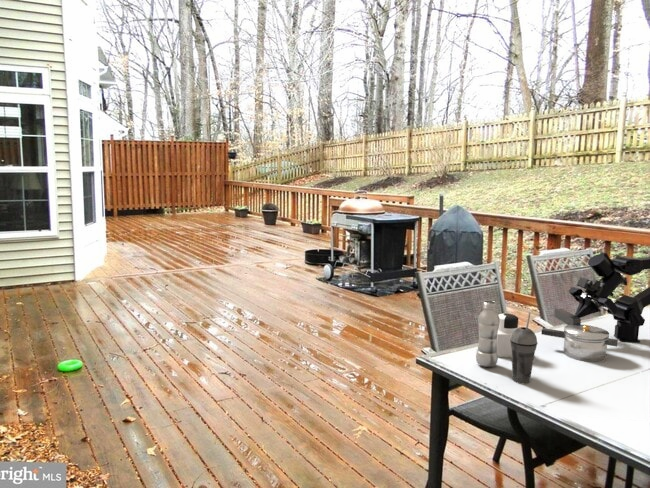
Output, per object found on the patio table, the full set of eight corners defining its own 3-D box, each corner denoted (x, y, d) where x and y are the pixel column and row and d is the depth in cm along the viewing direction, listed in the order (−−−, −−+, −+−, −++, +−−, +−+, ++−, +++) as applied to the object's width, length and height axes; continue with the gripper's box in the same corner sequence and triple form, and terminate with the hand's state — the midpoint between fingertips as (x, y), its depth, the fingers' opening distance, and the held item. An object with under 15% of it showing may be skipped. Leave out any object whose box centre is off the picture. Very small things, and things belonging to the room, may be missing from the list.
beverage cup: (503, 375, 150) (507, 309, 147) (527, 375, 151) (531, 308, 148) (514, 386, 143) (519, 316, 140) (539, 385, 144) (544, 316, 141)
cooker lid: (617, 340, 160) (618, 330, 160) (576, 340, 160) (577, 330, 159) (575, 317, 186) (576, 308, 185) (540, 317, 185) (540, 308, 185)
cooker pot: (617, 354, 168) (619, 334, 167) (614, 367, 157) (616, 345, 156) (544, 341, 180) (546, 322, 179) (537, 352, 169) (538, 332, 168)
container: (514, 349, 172) (516, 312, 170) (520, 358, 164) (523, 318, 162) (490, 348, 173) (492, 311, 171) (496, 357, 165) (498, 318, 163)
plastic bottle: (497, 363, 160) (501, 300, 157) (497, 371, 153) (501, 306, 151) (475, 360, 162) (479, 298, 159) (474, 368, 156) (478, 304, 153)
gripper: (575, 264, 186) (545, 295, 185) (613, 275, 167) (581, 309, 167) (592, 285, 188) (563, 315, 188) (632, 298, 170) (600, 331, 170)
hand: (575, 317), depth 178 cm, fingers closed
